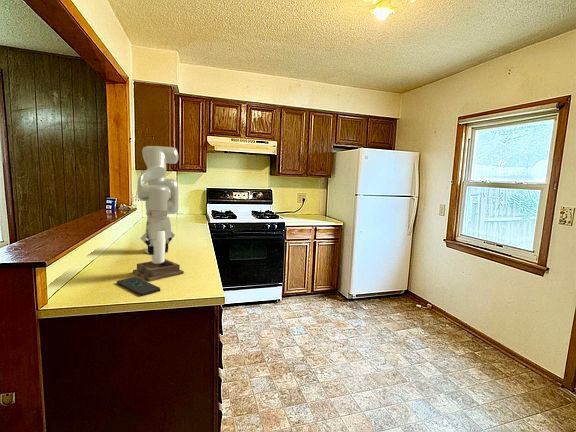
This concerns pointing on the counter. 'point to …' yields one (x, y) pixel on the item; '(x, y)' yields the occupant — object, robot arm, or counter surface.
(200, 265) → the counter surface
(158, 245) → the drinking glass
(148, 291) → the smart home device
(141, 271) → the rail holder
